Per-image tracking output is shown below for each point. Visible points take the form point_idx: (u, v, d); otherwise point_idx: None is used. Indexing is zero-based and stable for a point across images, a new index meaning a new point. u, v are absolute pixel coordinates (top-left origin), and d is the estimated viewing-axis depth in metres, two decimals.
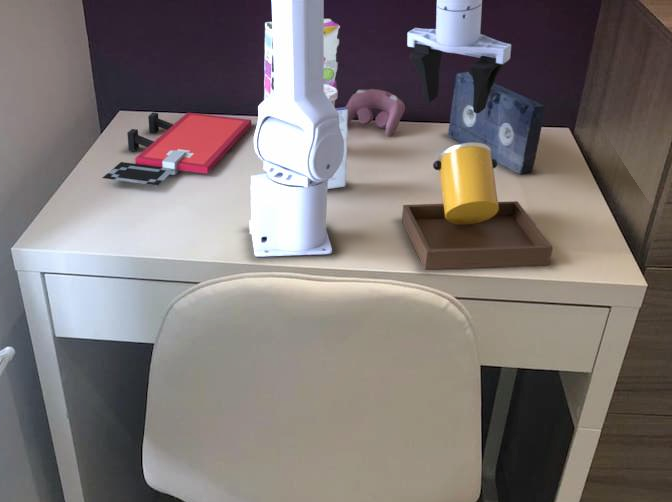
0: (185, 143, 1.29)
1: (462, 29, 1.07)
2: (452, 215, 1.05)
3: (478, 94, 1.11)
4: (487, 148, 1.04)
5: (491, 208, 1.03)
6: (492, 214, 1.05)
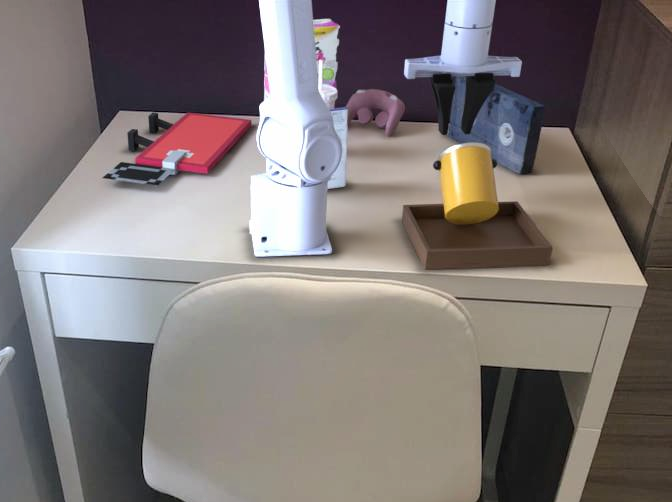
0: (185, 143, 1.29)
1: (485, 46, 1.02)
2: (452, 215, 1.05)
3: (476, 113, 1.07)
4: (487, 148, 1.04)
5: (491, 208, 1.03)
6: (492, 214, 1.05)
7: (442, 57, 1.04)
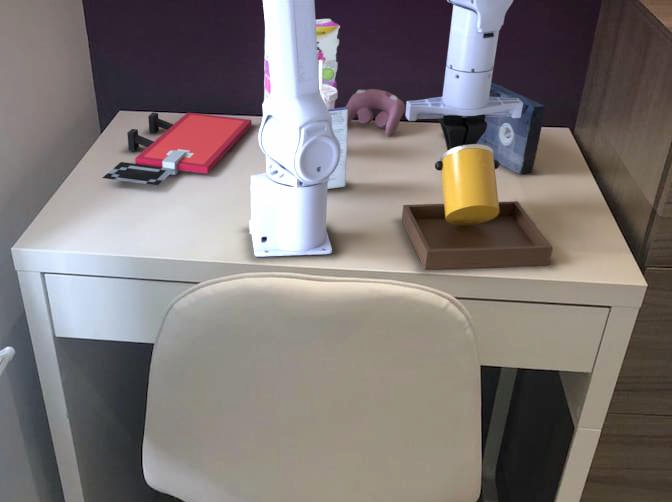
0: (185, 143, 1.29)
1: (487, 89, 1.02)
2: (452, 217, 1.04)
3: None
4: (489, 150, 1.03)
5: (492, 211, 1.03)
6: (493, 216, 1.05)
7: (443, 99, 1.05)
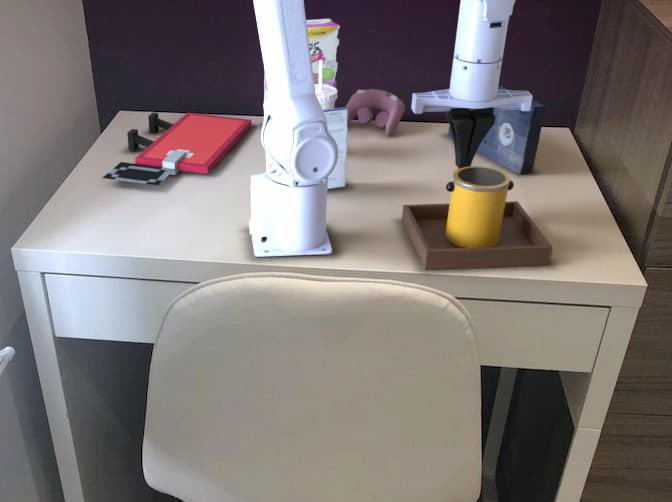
0: (185, 143, 1.29)
1: (495, 81, 0.99)
2: None
3: (475, 148, 1.04)
4: (505, 187, 0.98)
5: None
6: None
7: (451, 91, 1.01)
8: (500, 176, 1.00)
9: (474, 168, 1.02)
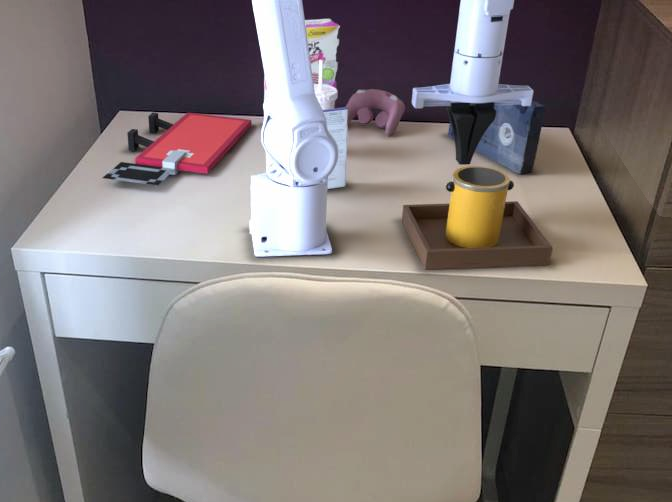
0: (185, 143, 1.29)
1: (496, 75, 0.99)
2: None
3: (476, 143, 1.04)
4: (505, 187, 0.98)
5: None
6: None
7: (451, 86, 1.01)
8: (500, 176, 1.00)
9: (474, 168, 1.02)
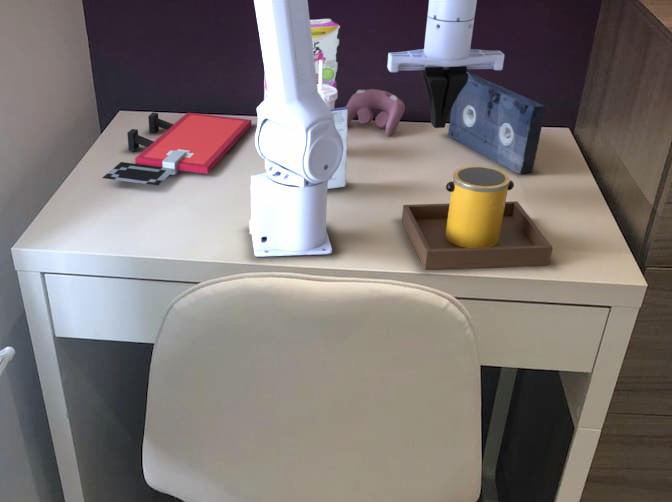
0: (185, 143, 1.29)
1: (468, 39, 1.03)
2: None
3: (450, 106, 1.08)
4: (505, 187, 0.98)
5: None
6: None
7: (425, 50, 1.05)
8: (500, 176, 1.00)
9: (474, 168, 1.02)
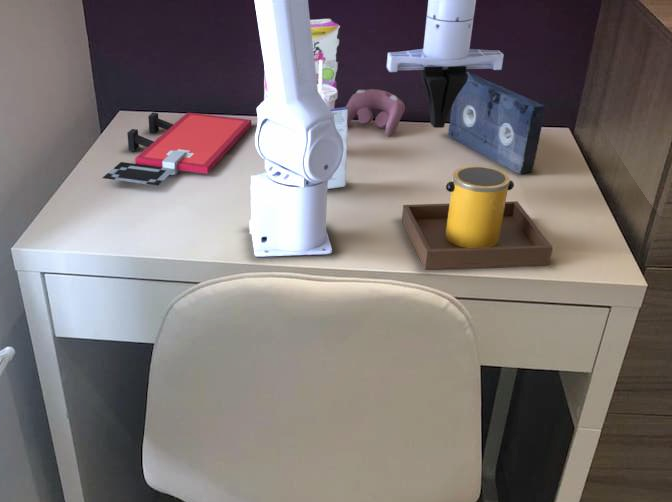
0: (185, 143, 1.29)
1: (467, 39, 1.03)
2: None
3: (449, 106, 1.08)
4: (505, 187, 0.98)
5: None
6: None
7: (424, 50, 1.05)
8: (500, 176, 1.00)
9: (474, 168, 1.02)
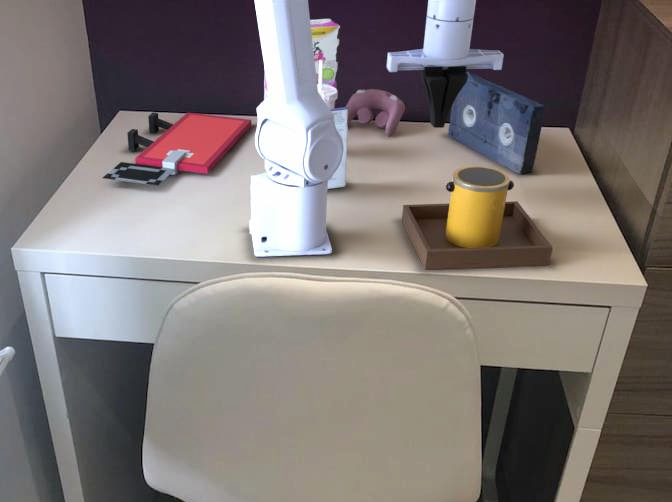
0: (185, 143, 1.29)
1: (467, 39, 1.03)
2: None
3: (449, 106, 1.08)
4: (505, 187, 0.98)
5: None
6: None
7: (424, 50, 1.05)
8: (500, 176, 1.00)
9: (474, 168, 1.02)
